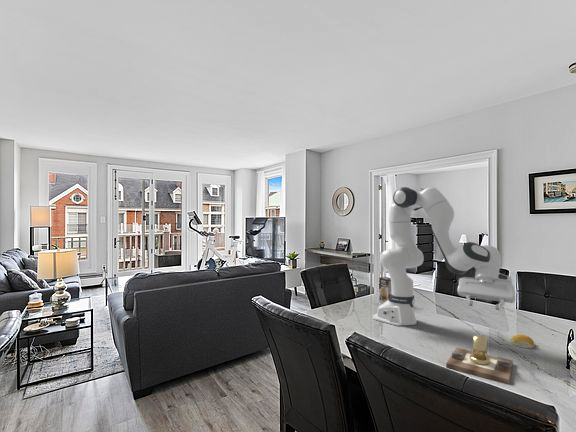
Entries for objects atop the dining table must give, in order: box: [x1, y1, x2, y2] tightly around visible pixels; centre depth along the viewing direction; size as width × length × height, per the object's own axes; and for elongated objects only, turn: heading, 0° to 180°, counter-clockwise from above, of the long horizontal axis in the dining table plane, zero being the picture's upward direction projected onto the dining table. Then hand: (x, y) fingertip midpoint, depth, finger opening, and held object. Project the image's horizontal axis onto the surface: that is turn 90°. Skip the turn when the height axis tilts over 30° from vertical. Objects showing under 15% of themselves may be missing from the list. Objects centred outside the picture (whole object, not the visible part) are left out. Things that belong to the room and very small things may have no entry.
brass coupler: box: [470, 334, 490, 365], centre depth 117 cm, size 6×6×9 cm
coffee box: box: [378, 276, 391, 304], centre depth 204 cm, size 9×6×16 cm
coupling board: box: [445, 347, 514, 385], centre depth 117 cm, size 19×18×3 cm
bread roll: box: [510, 334, 536, 349], centre depth 137 cm, size 8×9×4 cm
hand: (483, 307), depth 126 cm, fingers open, 8 cm apart
